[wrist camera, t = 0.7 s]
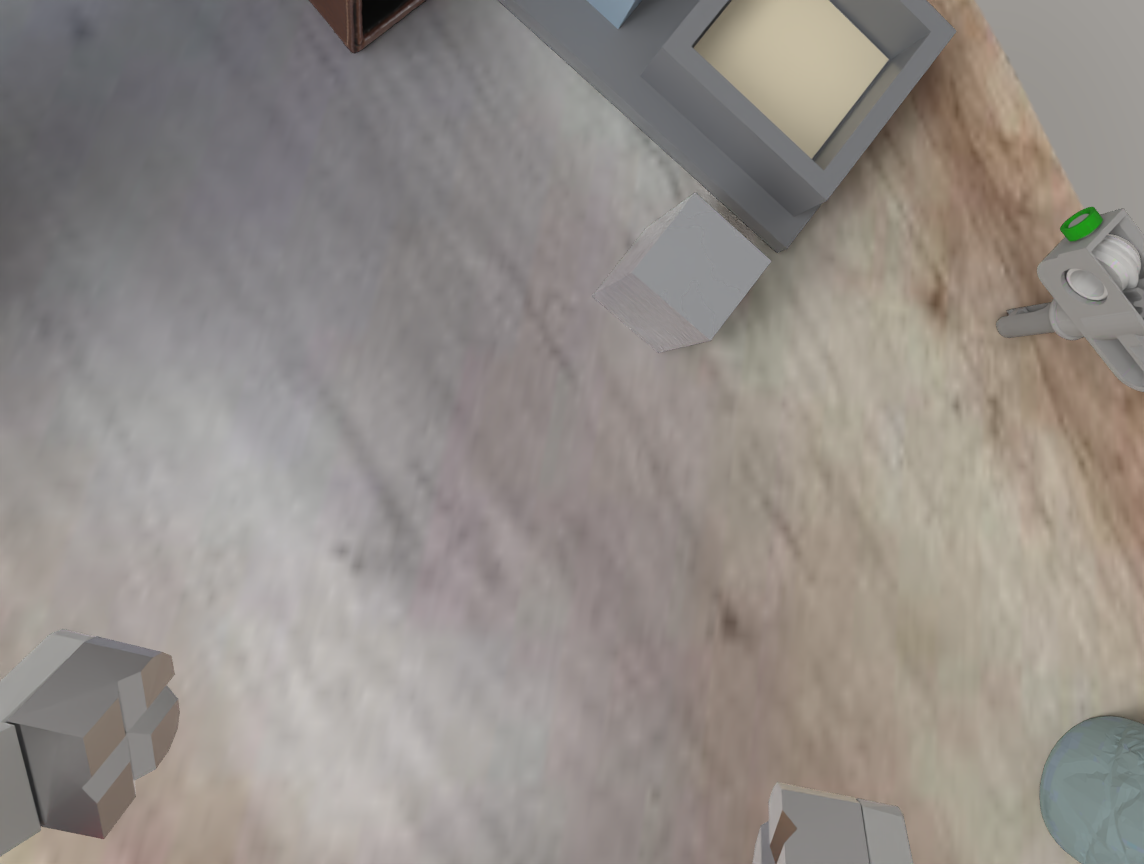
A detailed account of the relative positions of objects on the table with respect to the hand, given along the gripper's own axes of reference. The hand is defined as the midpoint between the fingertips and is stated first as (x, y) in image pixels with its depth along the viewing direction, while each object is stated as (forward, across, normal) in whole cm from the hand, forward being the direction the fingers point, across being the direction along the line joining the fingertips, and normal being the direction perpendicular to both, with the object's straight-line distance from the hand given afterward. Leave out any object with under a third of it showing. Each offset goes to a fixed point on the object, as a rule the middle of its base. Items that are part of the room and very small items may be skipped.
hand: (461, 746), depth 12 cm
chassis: (+43, -1, -7) cm, 43 cm away
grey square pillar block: (+36, 0, +5) cm, 36 cm away
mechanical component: (+42, -20, +6) cm, 47 cm away
